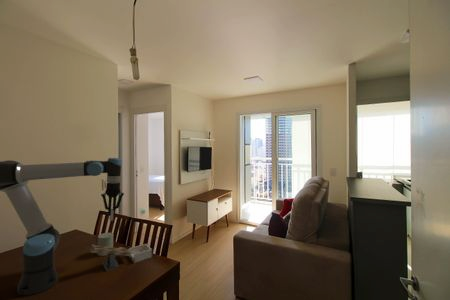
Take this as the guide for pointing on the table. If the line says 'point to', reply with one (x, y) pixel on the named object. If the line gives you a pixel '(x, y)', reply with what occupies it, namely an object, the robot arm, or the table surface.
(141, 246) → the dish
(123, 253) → the lever
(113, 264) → the fulcrum
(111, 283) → the table surface
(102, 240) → the can
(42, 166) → the robot arm
